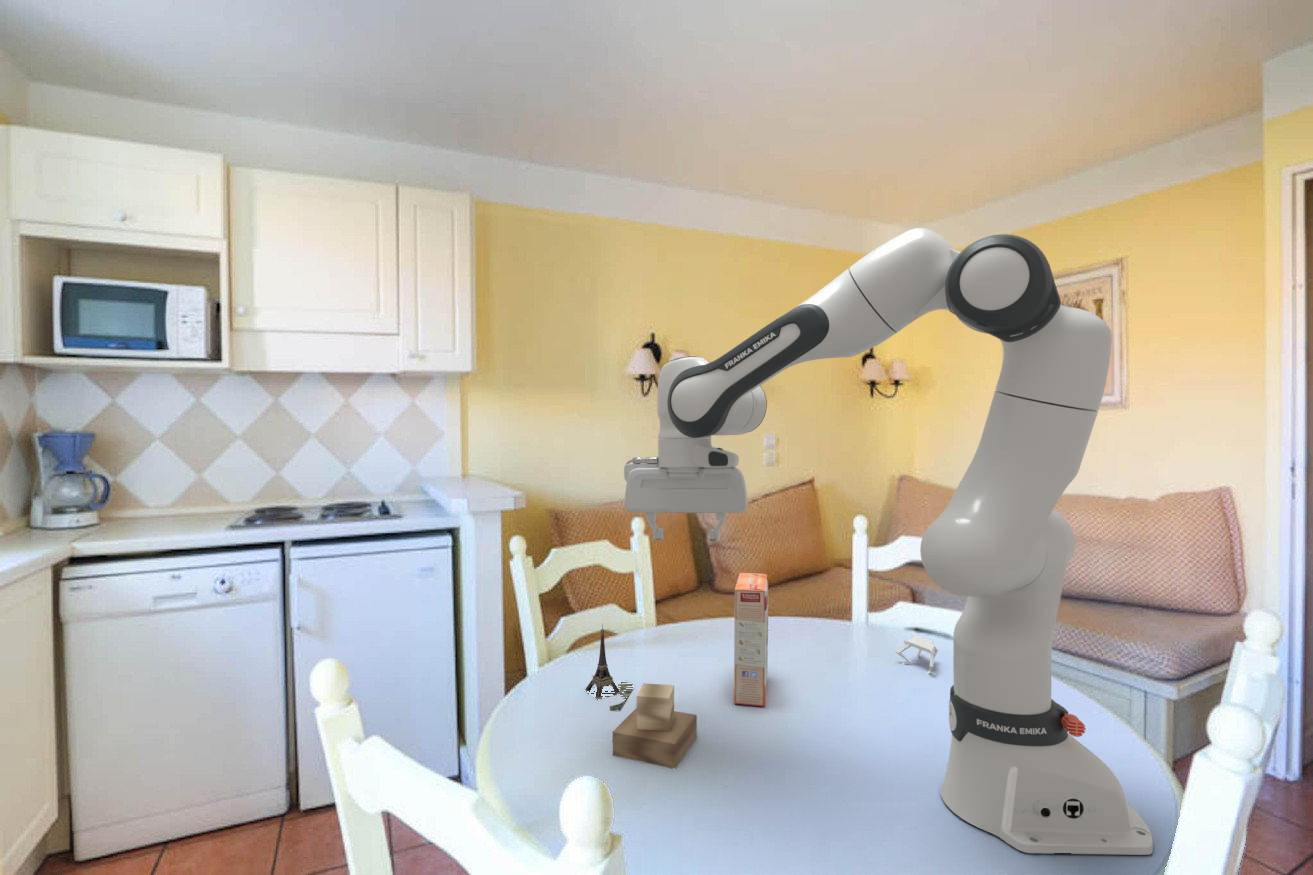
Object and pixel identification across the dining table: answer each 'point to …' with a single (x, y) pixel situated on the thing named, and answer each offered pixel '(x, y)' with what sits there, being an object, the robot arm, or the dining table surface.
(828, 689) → the dining table surface
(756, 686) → the cracker box
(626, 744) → the walnut block
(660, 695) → the maple cube
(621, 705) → the eiffel tower figurine
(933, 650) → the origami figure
